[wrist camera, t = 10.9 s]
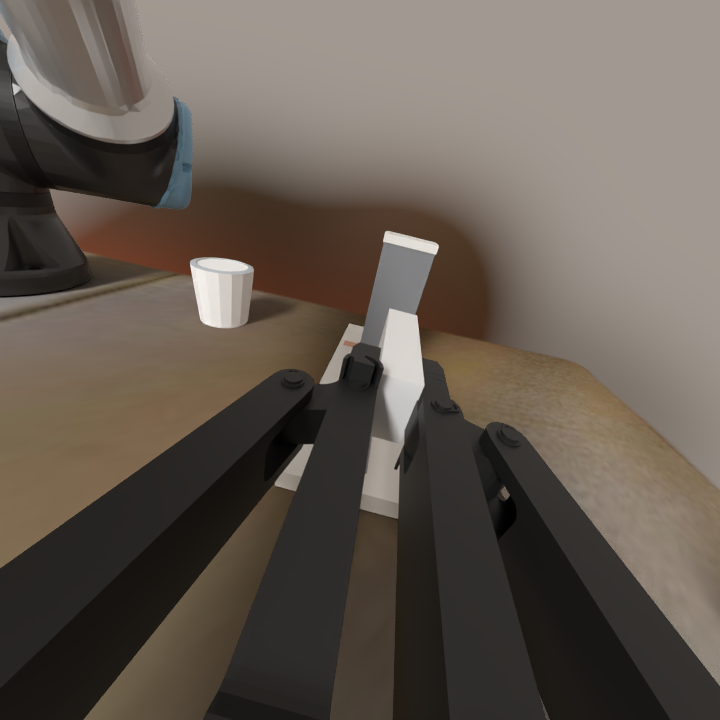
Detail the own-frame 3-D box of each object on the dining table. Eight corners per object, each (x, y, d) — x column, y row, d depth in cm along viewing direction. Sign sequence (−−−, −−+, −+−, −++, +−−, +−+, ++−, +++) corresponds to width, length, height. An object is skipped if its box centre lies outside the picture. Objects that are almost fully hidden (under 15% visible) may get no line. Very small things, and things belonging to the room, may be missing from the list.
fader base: (425, 526, 18) (433, 511, 17) (274, 485, 18) (276, 468, 17) (414, 349, 40) (417, 339, 40) (347, 332, 41) (349, 322, 40)
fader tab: (400, 361, 32) (438, 245, 26) (357, 350, 32) (385, 232, 26) (401, 349, 35) (435, 242, 29) (361, 339, 35) (387, 230, 29)
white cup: (201, 332, 32) (196, 272, 29) (189, 309, 37) (184, 254, 33) (260, 327, 36) (262, 274, 33) (243, 307, 41) (243, 258, 37)
